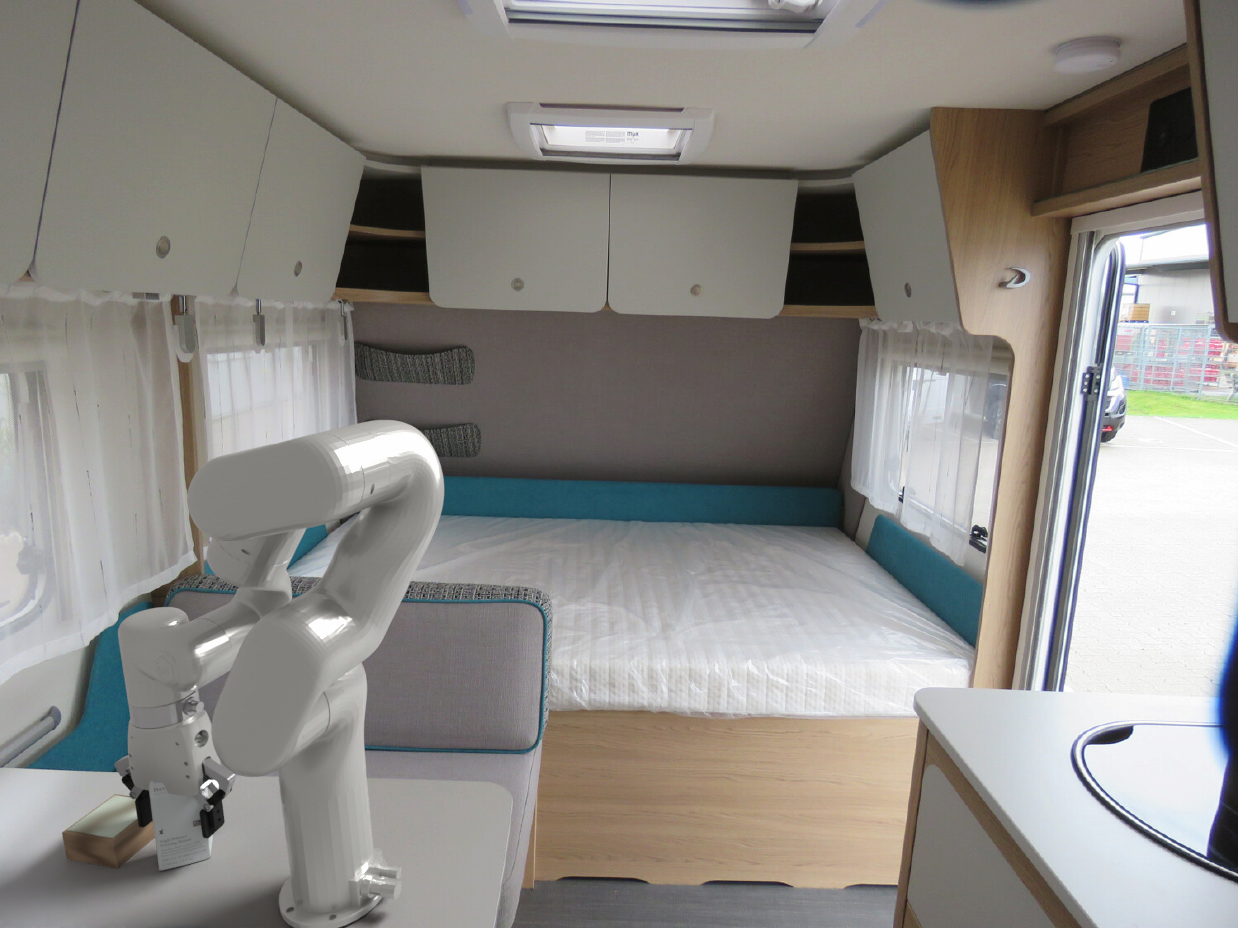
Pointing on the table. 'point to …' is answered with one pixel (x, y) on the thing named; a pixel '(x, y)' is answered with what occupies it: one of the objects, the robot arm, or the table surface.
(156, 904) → the table surface
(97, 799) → the table surface
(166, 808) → the skincare box
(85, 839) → the brown square block
